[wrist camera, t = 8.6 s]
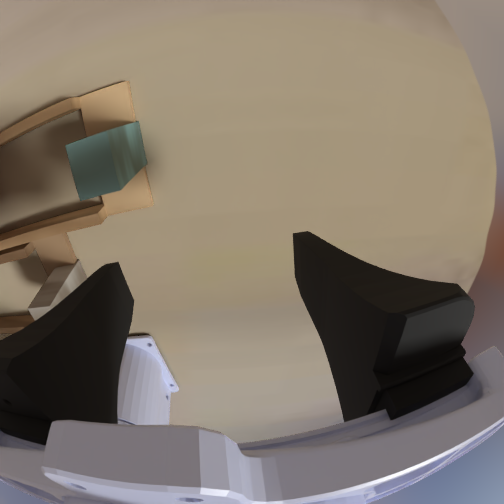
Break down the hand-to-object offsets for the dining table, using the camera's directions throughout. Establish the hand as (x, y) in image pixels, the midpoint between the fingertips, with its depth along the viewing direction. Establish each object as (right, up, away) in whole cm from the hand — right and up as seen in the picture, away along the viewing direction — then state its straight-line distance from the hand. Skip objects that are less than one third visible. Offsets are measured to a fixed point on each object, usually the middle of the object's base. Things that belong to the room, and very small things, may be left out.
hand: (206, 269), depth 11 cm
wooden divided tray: (-15, +6, +5) cm, 17 cm away
